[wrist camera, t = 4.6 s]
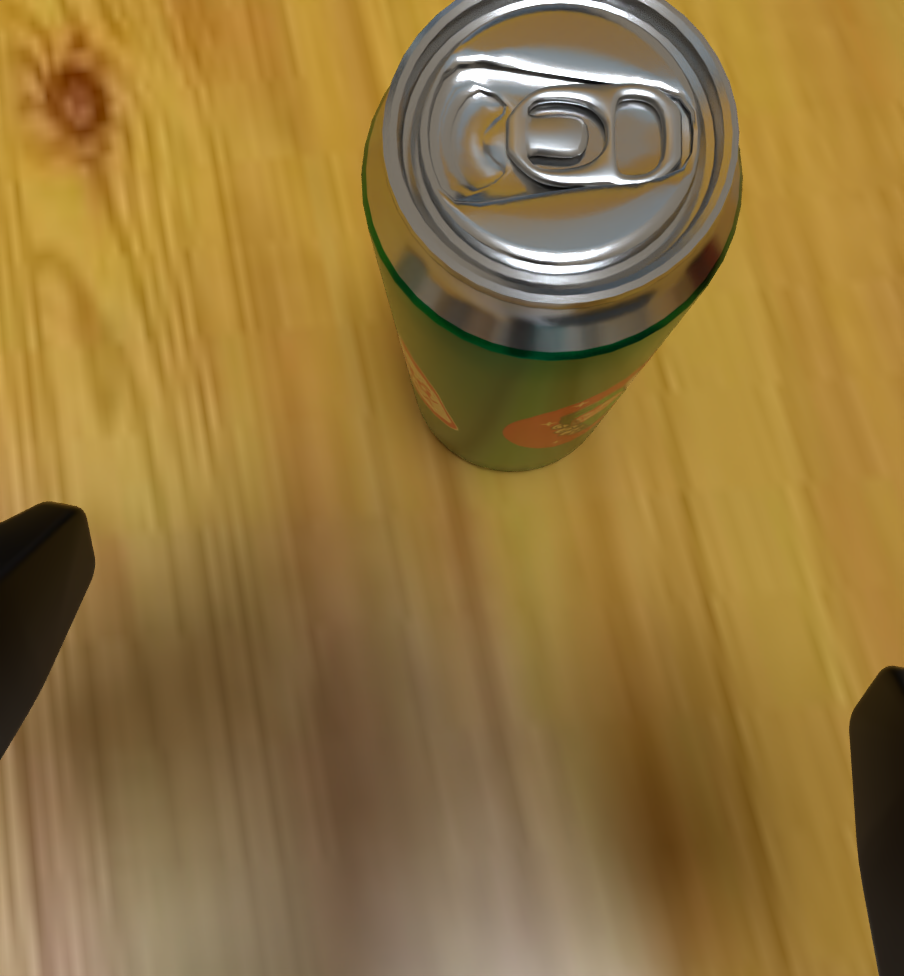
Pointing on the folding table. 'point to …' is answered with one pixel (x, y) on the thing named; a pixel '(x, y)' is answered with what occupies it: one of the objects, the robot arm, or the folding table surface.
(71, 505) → the robot arm
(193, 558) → the folding table surface
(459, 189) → the soda can
